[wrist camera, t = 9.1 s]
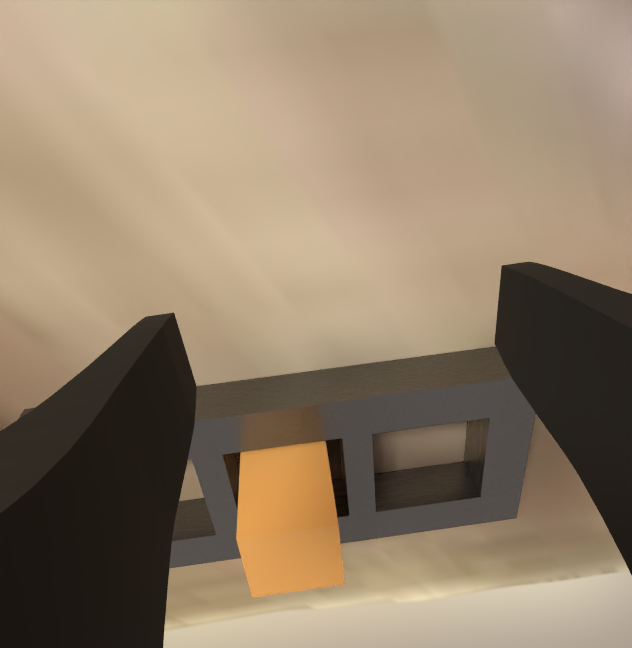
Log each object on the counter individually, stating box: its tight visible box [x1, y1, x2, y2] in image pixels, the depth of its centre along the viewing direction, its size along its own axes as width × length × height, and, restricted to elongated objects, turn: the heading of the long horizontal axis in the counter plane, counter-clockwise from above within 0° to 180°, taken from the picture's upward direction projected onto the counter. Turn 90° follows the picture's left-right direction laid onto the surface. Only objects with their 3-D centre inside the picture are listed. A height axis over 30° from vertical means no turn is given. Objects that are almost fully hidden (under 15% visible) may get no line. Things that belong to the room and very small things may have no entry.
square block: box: [236, 441, 345, 597], centre depth 23 cm, size 4×4×7 cm
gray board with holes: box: [19, 347, 535, 568], centre depth 25 cm, size 24×10×2 cm, turn 96°
